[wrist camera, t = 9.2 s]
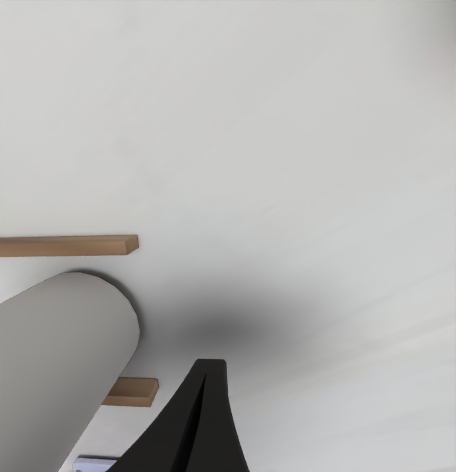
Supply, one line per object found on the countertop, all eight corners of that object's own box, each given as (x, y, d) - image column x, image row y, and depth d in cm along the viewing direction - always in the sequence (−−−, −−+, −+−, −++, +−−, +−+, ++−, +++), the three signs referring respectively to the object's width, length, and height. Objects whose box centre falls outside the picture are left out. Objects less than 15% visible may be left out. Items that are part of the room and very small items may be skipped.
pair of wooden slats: (158, 388, 18) (150, 407, 16) (-8, 381, 19) (-30, 399, 17) (137, 234, 15) (124, 241, 13) (-58, 239, 16) (-88, 245, 15)
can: (167, 315, 16) (-45, 681, 4) (108, 380, 18) (-150, 759, 6) (75, 243, 15) (-464, 459, 4) (23, 319, 17) (-447, 621, 6)
